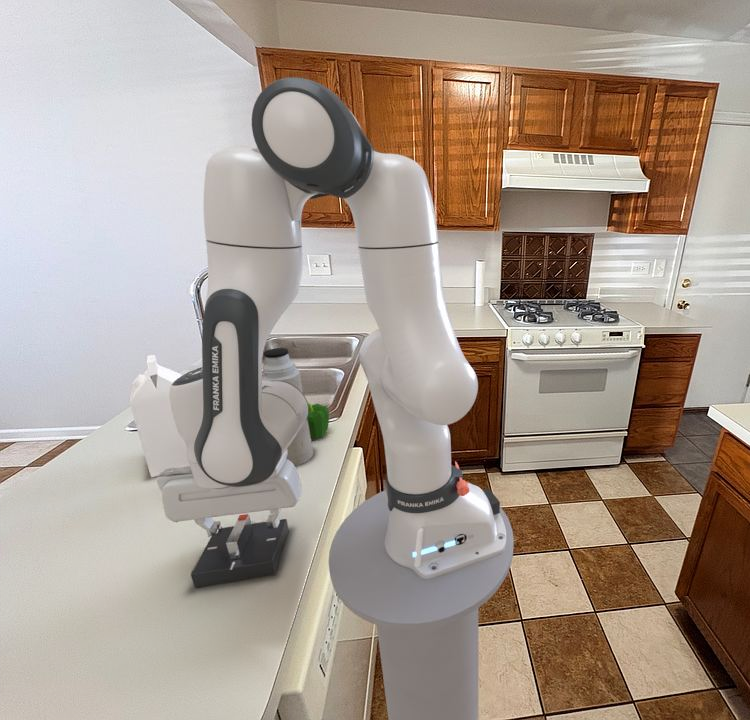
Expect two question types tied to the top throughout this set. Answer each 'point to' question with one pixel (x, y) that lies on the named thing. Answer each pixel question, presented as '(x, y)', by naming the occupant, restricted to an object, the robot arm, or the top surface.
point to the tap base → (253, 563)
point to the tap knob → (239, 536)
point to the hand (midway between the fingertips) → (245, 529)
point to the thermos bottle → (285, 371)
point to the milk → (157, 418)
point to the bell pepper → (318, 420)
